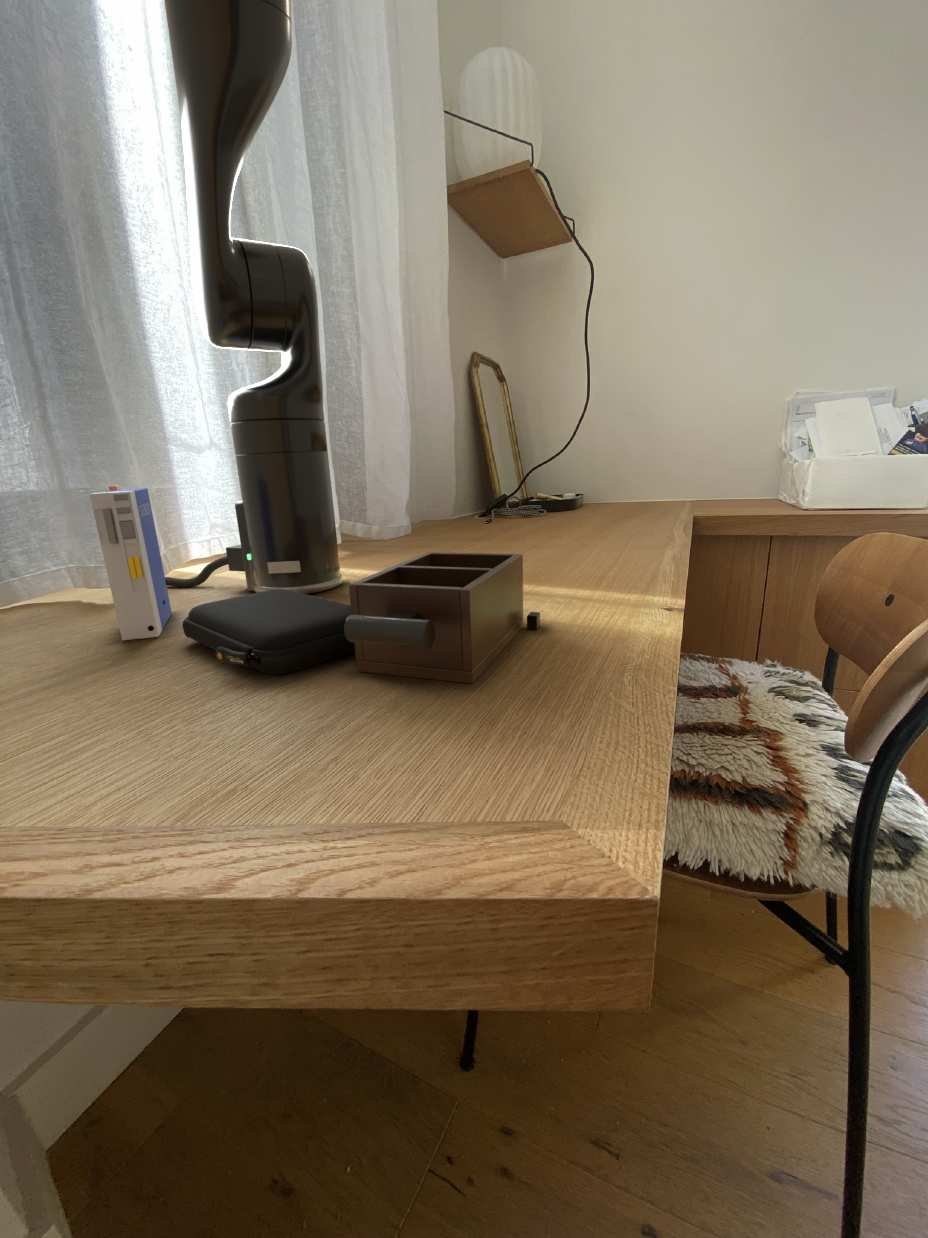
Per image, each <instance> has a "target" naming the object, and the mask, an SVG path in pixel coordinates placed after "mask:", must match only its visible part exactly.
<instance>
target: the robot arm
mask: <svg viewBox="0 0 928 1238" xmlns="http://www.w3.org/2000/svg"><path fill="white" fill-rule="evenodd" d="M163 1H164V8H165V16H166V23H167V29H168V36H169V44H170V51H171V58H172V65H173V73H174V80H175V87H176V94H177V95H176V96H177V101H178V102H177V103H178V110H179V118H180V126H181V135H182V137H181V138H182V148H183V156H184V157H183V158H184V171H185V172H184V173H185V186H186V187H185V188H186V203H187V218H188V219H187V220H188V221H187V222H188V235H189V249H190V250H189V251H190V267H191V279H192V289H193V291H192V292H193V297H194V304H195V310H196V316H197V319H198V323H199V326H200V329H201V332H202V334H203V336H204V338H205V339H206V341H207V342H209V344H210V345H211V346H213V347H216V348H219V349H228V350H238V351H239V350H241V351H255V352H256V351H257V352H276V353H277V352H278V353H280V354H281V365H280V366H281V367H280V368H279V369H278V370H277V371H276V372H275V373H273V375H271V376H269V377H268V378H266V379H264V380H262V381H260V382H256V383H254V384H251V385H248V386H245V387H242V388H240V389H237V390H235V391H233V392H232V393H231V394H229V396H228V399H227V409H228V416H229V422H230V429H231V436H232V444H233V449H234V455H235V463H236V470H237V476H238V481H239V489H240V495H241V496H240V497H241V499H240V500H237V501H236V502H235V504H234V509H235V517H236V522H237V529H238V530H237V531H238V535H239V536H238V537H239V543H240V544H235V545H231V546H227V547H225V553H226V555H225V556H223V557H220V558H217V559H215V560H213V561H210V563H208V564H207V565H205V566H204V567H203V568H202V570H201V571H200V573H199V574H198V575H197V576H195V577H191V578H177V577H170V576H165V581H166V586H168V587H175V588H194V587H197V586H199V585H202V584H203V583H205V582H206V581H207V580H208V579H209V577H211V575H212V574H213V573H214V572H215V571H216V570H218V569H221V568H223V567H225V566H228V570H229V572H244V575H245V581H246V587H247V588H246V589H247V591H253V592H254V593H258V592H263V591H268V590H273V589H284V590H290V591H294V592H299V593H303V594H307V595H309V594H315V593H320V592H324V591H327V590H328V591H329V590H332V589H334V588H336V587H338V586H340V585H341V584H343V576H342V573H341V563H340V557H339V556H340V555H339V546H338V535H337V527H336V518H335V517H336V516H335V508H334V507H335V505H334V499H333V498H334V497H333V489H332V479H331V478H332V477H331V470H330V469H331V468H330V460H329V452H328V451H329V450H328V442H327V432H326V431H327V430H326V423H325V412H324V386H323V374H322V362H321V348H320V325H319V305H318V294H317V292H318V291H317V285H316V279H315V274H314V269H313V267H312V264H311V262H310V260H309V258H308V257H307V255H306V254H305V253H304V251H302V250H301V249H300V248H298V247H295V246H290V245H285V244H280V243H279V244H278V243H271V242H265V241H258V240H250V239H245V238H235V237H231V212H232V204H233V198H234V193H235V187H236V184H237V180H238V177H239V175H240V171H241V170H242V169H241V168H242V166H243V164H244V161H245V158H246V156H247V153H248V150H249V149H250V146H251V145H252V143H253V141H254V139H255V136H256V134H257V133H258V131H259V129H260V127H261V126H262V123H263V122H264V120H265V118H266V116H267V114H268V113H269V110H270V109H271V107H272V105H273V103H274V101H275V99H276V97H277V95H278V93H279V91H280V89H281V87H282V84H283V83H284V80H285V77H286V74H287V72H288V69H289V65H290V61H291V56H292V49H293V36H292V35H293V32H292V31H293V30H292V0H163Z"/></svg>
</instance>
